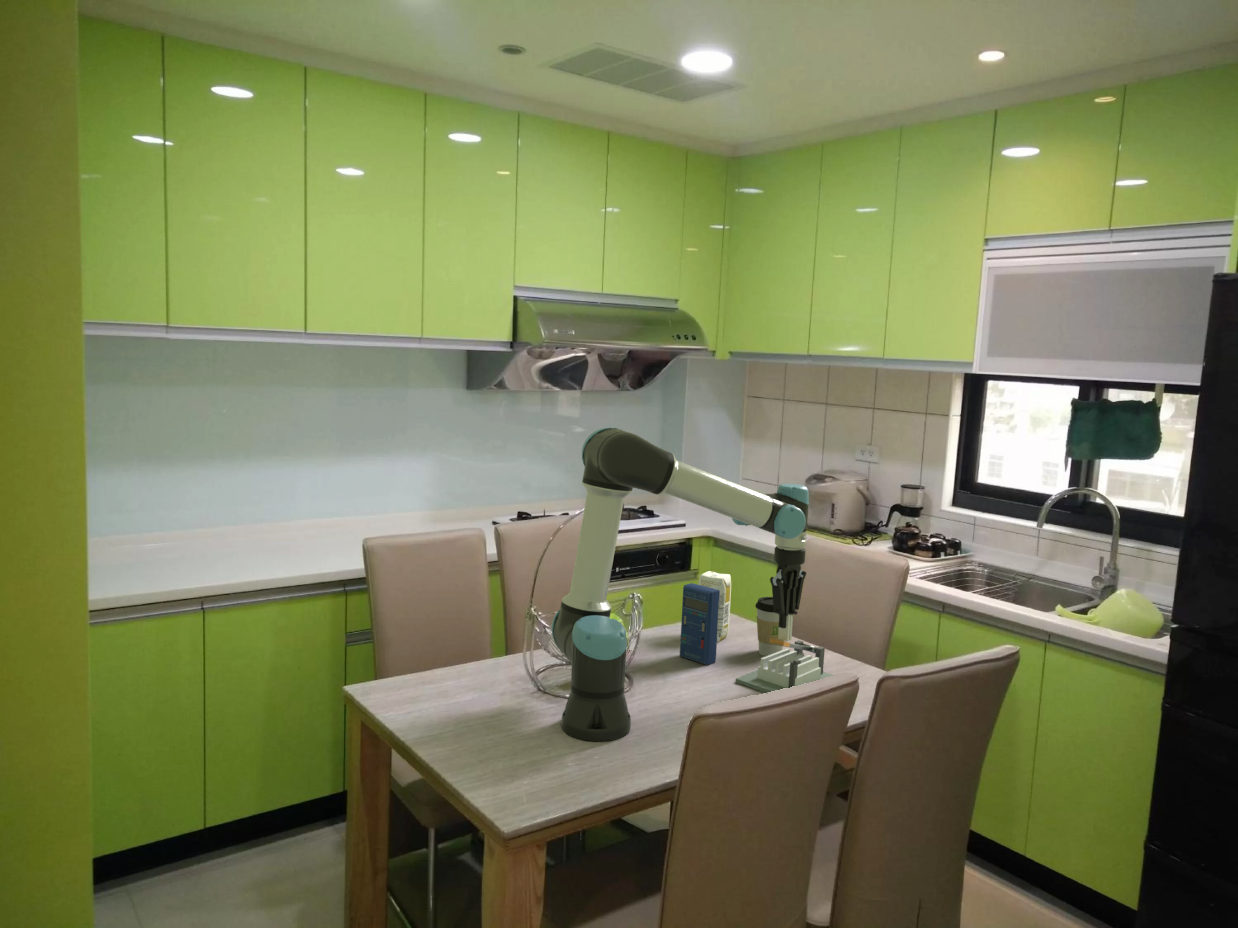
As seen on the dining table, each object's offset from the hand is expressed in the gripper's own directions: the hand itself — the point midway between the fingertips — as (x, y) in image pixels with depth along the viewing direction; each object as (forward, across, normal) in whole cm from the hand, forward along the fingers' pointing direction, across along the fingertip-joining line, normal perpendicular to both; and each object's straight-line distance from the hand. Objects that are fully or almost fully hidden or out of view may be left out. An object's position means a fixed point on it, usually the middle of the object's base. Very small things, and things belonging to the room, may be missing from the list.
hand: (784, 639), depth 224 cm
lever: (+4, +5, 0) cm, 6 cm away
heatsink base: (+12, +4, 0) cm, 13 cm away
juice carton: (+12, +17, +35) cm, 41 cm away
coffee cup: (+12, +19, +16) cm, 28 cm away
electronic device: (+12, -1, +26) cm, 29 cm away
